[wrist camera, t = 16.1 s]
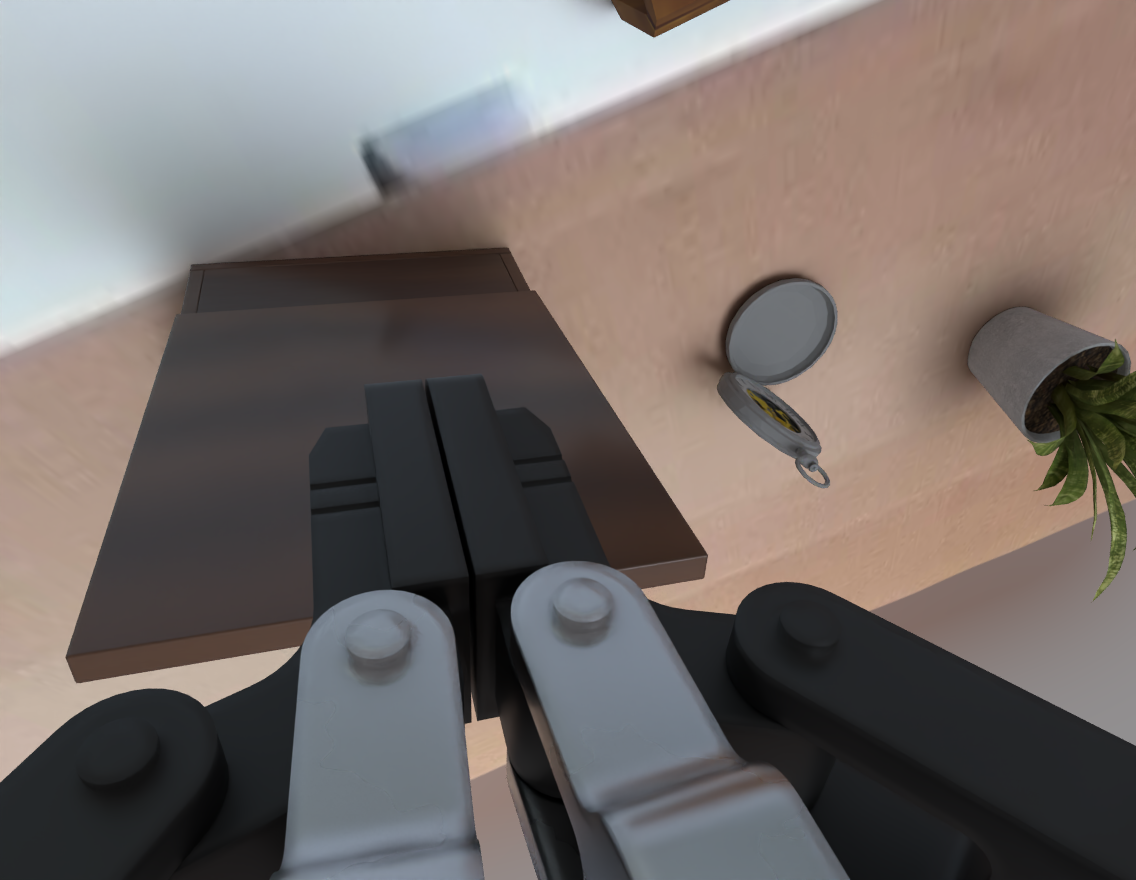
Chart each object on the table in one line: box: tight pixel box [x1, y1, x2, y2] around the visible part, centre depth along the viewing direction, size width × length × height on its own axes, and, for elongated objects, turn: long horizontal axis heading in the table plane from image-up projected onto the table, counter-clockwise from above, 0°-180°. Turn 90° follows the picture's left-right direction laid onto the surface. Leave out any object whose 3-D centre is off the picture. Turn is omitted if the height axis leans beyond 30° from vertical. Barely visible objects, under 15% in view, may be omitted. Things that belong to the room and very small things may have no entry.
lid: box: [66, 290, 708, 683], centre depth 26 cm, size 18×14×1 cm
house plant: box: [968, 307, 1136, 600], centre depth 47 cm, size 14×14×16 cm
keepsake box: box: [181, 248, 530, 314], centre depth 40 cm, size 17×14×5 cm
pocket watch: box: [717, 278, 837, 488], centre depth 43 cm, size 8×8×10 cm
